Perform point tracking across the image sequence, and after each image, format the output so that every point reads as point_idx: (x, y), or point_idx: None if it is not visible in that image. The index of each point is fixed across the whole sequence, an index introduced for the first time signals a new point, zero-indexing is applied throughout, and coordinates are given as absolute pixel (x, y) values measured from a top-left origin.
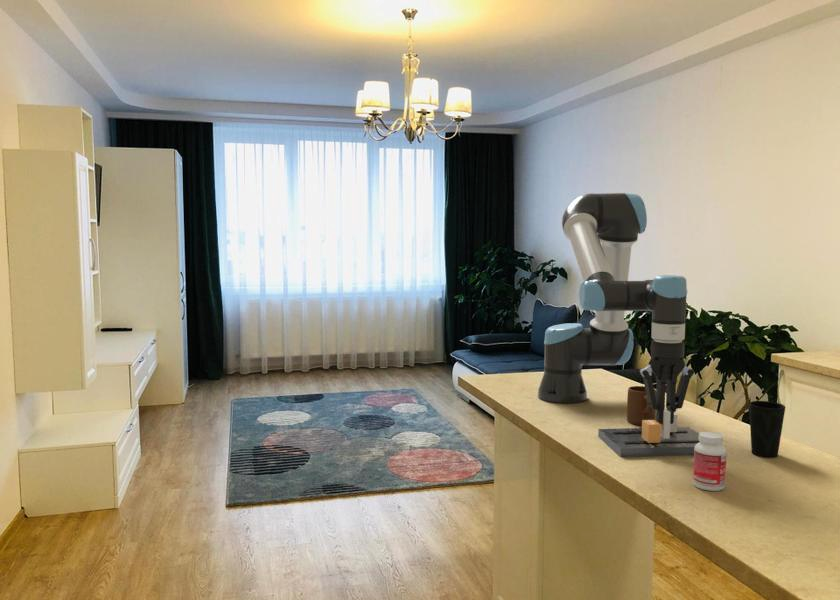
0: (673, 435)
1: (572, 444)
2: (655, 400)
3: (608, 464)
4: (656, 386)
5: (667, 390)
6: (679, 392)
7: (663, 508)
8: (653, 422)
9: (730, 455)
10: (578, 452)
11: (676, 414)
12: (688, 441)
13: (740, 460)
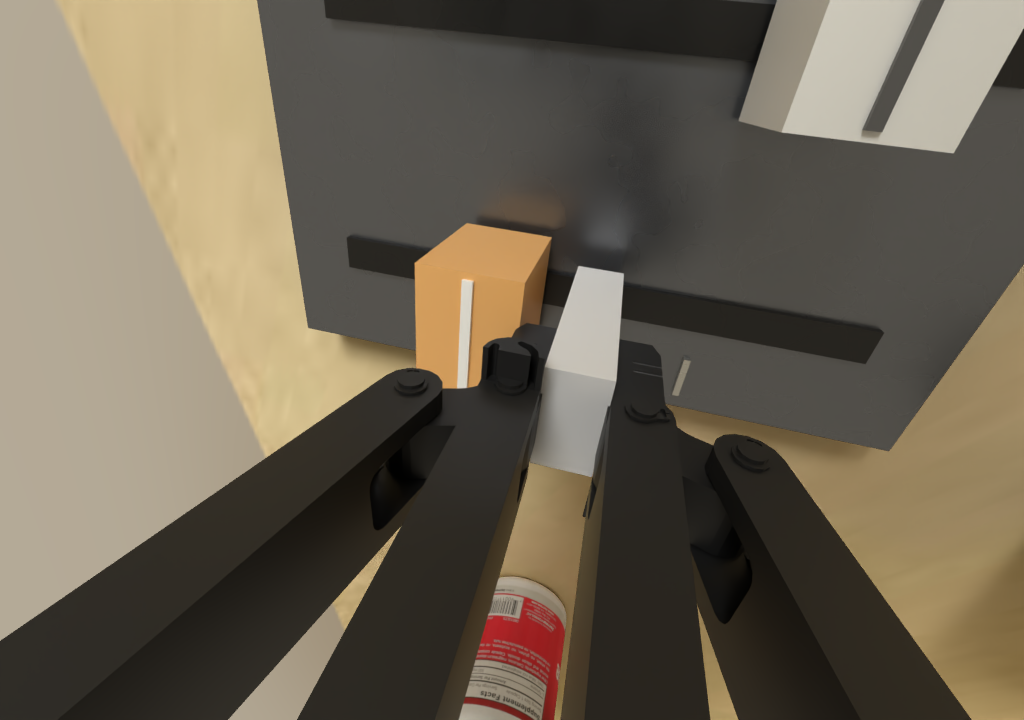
0: (788, 162)
1: (112, 40)
2: (383, 532)
3: (268, 372)
4: (346, 634)
5: (586, 635)
6: (767, 710)
7: (345, 624)
8: (479, 348)
9: (919, 445)
10: (153, 198)
11: (962, 131)
12: (757, 343)
13: (886, 506)
